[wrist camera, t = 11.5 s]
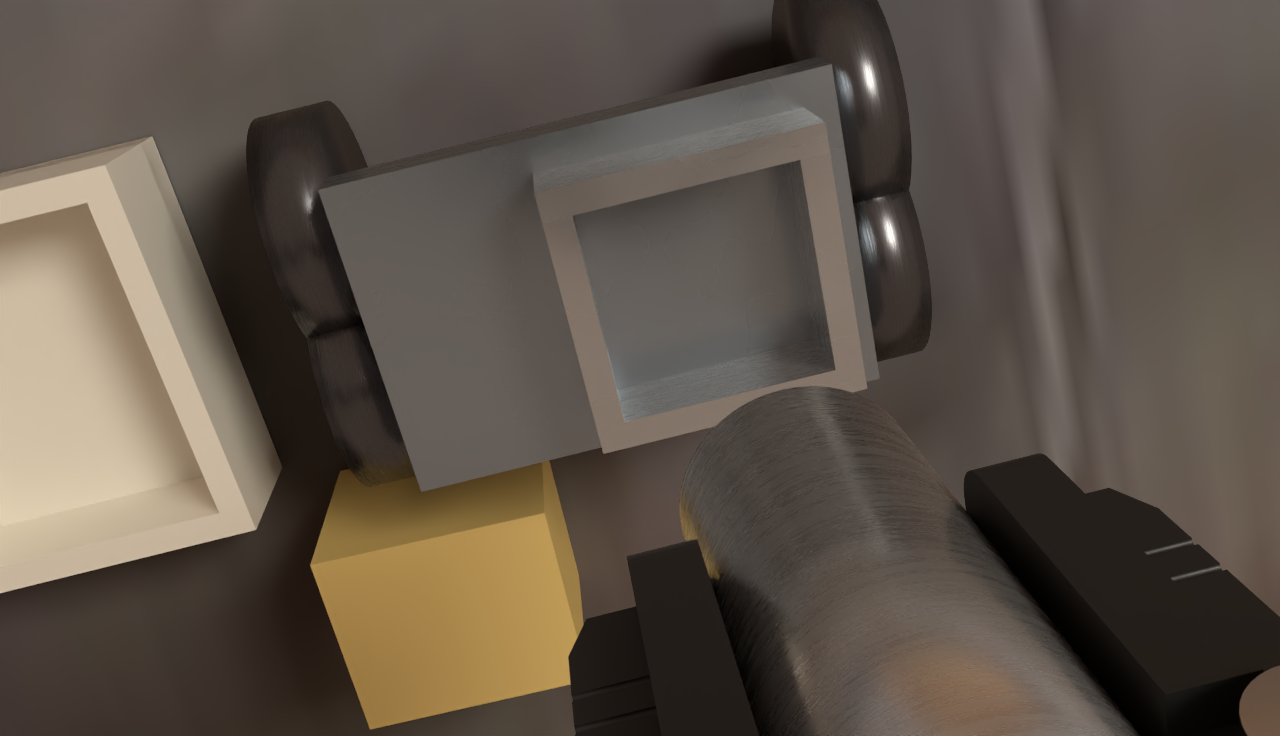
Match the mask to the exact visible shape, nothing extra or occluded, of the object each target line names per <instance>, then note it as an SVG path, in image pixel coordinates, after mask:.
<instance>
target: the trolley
mask: <svg viewBox="0 0 1280 736" xmlns="http://www.w3.org/2000/svg"><path fill="white" fill-rule="evenodd" d="M772 44H773V56H774V66H775V68H771V69H767V70H763V71H759V72H755V73H751V74H747V75H743V76H739V77H735V78H730V79H726V80H722V81H718V82H714V83H710V84H706V85H702V86H698V87H694V88H690V89H686V90H681V91H677V92H673V93H669V94H665V95H661V96H657V97H653V98H649V99H645V100H641V101H636V102H632V103H628V104H624V105H620V106H616V107H612V108H608V109H604V110H600V111H596V112H592V113H587V114H583V115H579V116H575V117H571V118H567V119H563V120H559V121H555V122H551V123H547V124H543V125H538V126H534V127H530V128H526V129H522V130H518V131H514V132H510V133H506V134H502V135H498V136H493V137H489V138H485V139H481V140H477V141H473V142H469V143H465V144H461V145H457V146H453V147H449V148H444V149H440V150H436V151H432V152H428V153H424V154H420V155H416V156H412V157H408V158H404V159H399V160H395V161H391V162H387V163H383V164H379V165H375V166H371V167H368V166H367V164H366V161H365V159H364V156H363V154H362V151H361V149H360V147H359V144H358V142H357V140H356V138H355V136H354V133H353V131H352V130H351V128H350V126H349V124H348V122H347V120H346V119H345V117H344V115H343V114H342V113H341V111H340V110H339V108H338V107H337V106H336V105H335V104H334V103H332V102H331V101H324V102H320V103H316V104H312V105H308V106H304V107H300V108H295V109H291V110H287V111H283V112H279V113H275V114H271V115H267V116H263V117H259V118H256V119H254V120H253V121H252V123H251V124H250V127H249V130H248V135H247V145H246V157H247V171H248V179H249V186H250V192H251V197H252V203H253V207H254V212H255V216H256V220H257V224H258V228H259V232H260V235H261V239H262V242H263V245H264V249H265V252H266V255H267V258H268V261H269V264H270V267H271V269H272V272H273V275H274V277H275V280H276V282H277V285H278V287H279V290H280V292H281V294H282V296H283V299H284V301H285V303H286V305H287V307H288V309H289V311H290V313H291V315H292V317H293V318H294V320H295V322H296V324H297V325H298V327H299V328H300V330H301V331H302V333H303V334H304V335H305V337H306V338H307V343H308V349H309V355H310V360H311V365H312V369H313V373H314V378H315V382H316V385H317V389H318V393H319V396H320V400H321V403H322V406H323V409H324V412H325V415H326V418H327V421H328V424H329V426H330V429H331V432H332V434H333V437H334V439H335V441H336V444H337V446H338V448H339V450H340V452H341V454H342V456H343V458H344V460H345V462H346V464H347V465H348V467H349V469H350V470H351V472H352V473H353V474H354V476H355V477H356V478H357V479H358V480H359V481H360V482H361V483H362V484H363V485H365V486H367V487H374V486H378V485H382V484H386V483H390V482H394V481H398V480H402V479H406V478H410V477H414V476H416V478H417V481H418V484H419V487H420V490H421V492H423V491H427V490H431V489H435V488H439V487H444V486H448V485H452V484H456V483H460V482H464V481H468V480H472V479H476V478H480V477H484V476H488V475H492V474H496V473H500V472H504V471H508V470H512V469H516V468H520V467H524V466H528V465H532V464H536V463H540V462H544V461H548V460H553V459H557V458H561V457H565V456H569V455H573V454H577V453H581V452H585V451H589V450H593V449H597V448H601V447H602V451H603V454H605V453H609V452H613V451H617V450H622V449H626V448H630V447H634V446H638V445H642V444H646V443H650V442H654V441H658V440H662V439H666V438H670V437H674V436H678V435H682V434H686V433H690V432H694V431H698V430H702V429H706V428H710V427H714V426H716V425H717V424H718V423H719V422H720V421H721V420H723V419H724V418H725V417H727V416H728V415H729V414H730V413H732V412H733V411H734V410H736V409H738V408H739V407H741V406H743V405H744V404H746V403H748V402H750V401H752V400H754V399H756V398H759V397H761V396H763V395H766V394H769V393H772V392H775V391H779V390H783V389H789V388H794V387H805V386H820V387H831V388H836V389H842V390H845V391H848V392H851V393H852V392H856V391H860V390H864V389H867V383H866V382H867V381H871V380H875V379H880V378H879V371H878V364H877V362H879V361H883V360H887V359H891V358H895V357H899V356H903V355H907V354H911V353H915V352H919V351H922V350H923V349H924V348H925V346H926V345H927V343H928V339H929V336H930V330H931V319H932V301H931V287H930V278H929V271H928V264H927V258H926V253H925V247H924V243H923V238H922V234H921V229H920V226H919V222H918V218H917V214H916V211H915V208H914V204H913V201H912V198H911V195H910V192H909V186H910V179H911V163H912V155H911V133H910V123H909V114H908V107H907V100H906V94H905V89H904V84H903V79H902V74H901V70H900V65H899V61H898V58H897V54H896V50H895V46H894V43H893V40H892V37H891V34H890V30H889V28H888V25H887V22H886V20H885V17H884V14H883V12H882V10H881V7H880V5H879V3H878V1H877V0H774V5H773V12H772Z"/></svg>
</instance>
